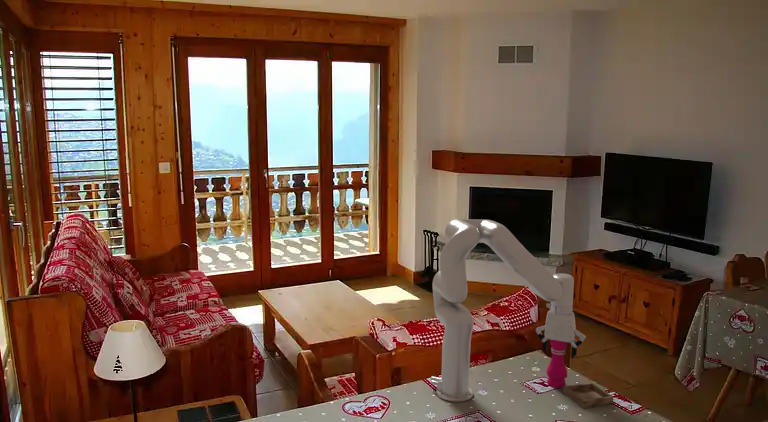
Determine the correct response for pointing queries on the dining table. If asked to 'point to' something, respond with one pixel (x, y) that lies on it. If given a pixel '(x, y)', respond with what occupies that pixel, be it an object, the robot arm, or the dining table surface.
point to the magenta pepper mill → (557, 365)
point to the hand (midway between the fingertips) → (559, 354)
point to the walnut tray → (588, 395)
